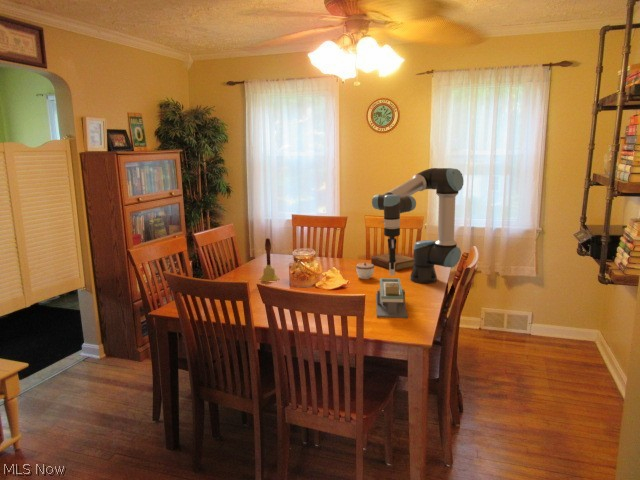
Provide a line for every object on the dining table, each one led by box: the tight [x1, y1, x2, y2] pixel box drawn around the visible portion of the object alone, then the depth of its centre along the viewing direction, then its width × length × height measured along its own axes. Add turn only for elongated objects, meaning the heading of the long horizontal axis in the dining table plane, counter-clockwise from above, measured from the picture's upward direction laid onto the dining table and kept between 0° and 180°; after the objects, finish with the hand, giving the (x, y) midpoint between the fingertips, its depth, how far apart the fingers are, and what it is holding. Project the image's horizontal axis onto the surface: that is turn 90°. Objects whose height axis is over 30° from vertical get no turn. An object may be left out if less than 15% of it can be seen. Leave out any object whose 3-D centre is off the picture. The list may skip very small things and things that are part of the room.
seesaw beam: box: [379, 277, 404, 302], centre depth 223 cm, size 10×28×3 cm, turn 174°
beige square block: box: [385, 283, 399, 296], centre depth 214 cm, size 6×6×5 cm
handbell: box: [258, 237, 280, 282], centre depth 271 cm, size 12×12×25 cm
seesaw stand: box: [375, 288, 409, 319], centre depth 224 cm, size 14×32×8 cm, turn 174°
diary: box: [370, 252, 414, 272], centre depth 301 cm, size 23×19×6 cm
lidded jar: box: [355, 262, 375, 280], centre depth 273 cm, size 11×11×9 cm
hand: (392, 274), depth 222 cm, fingers closed
